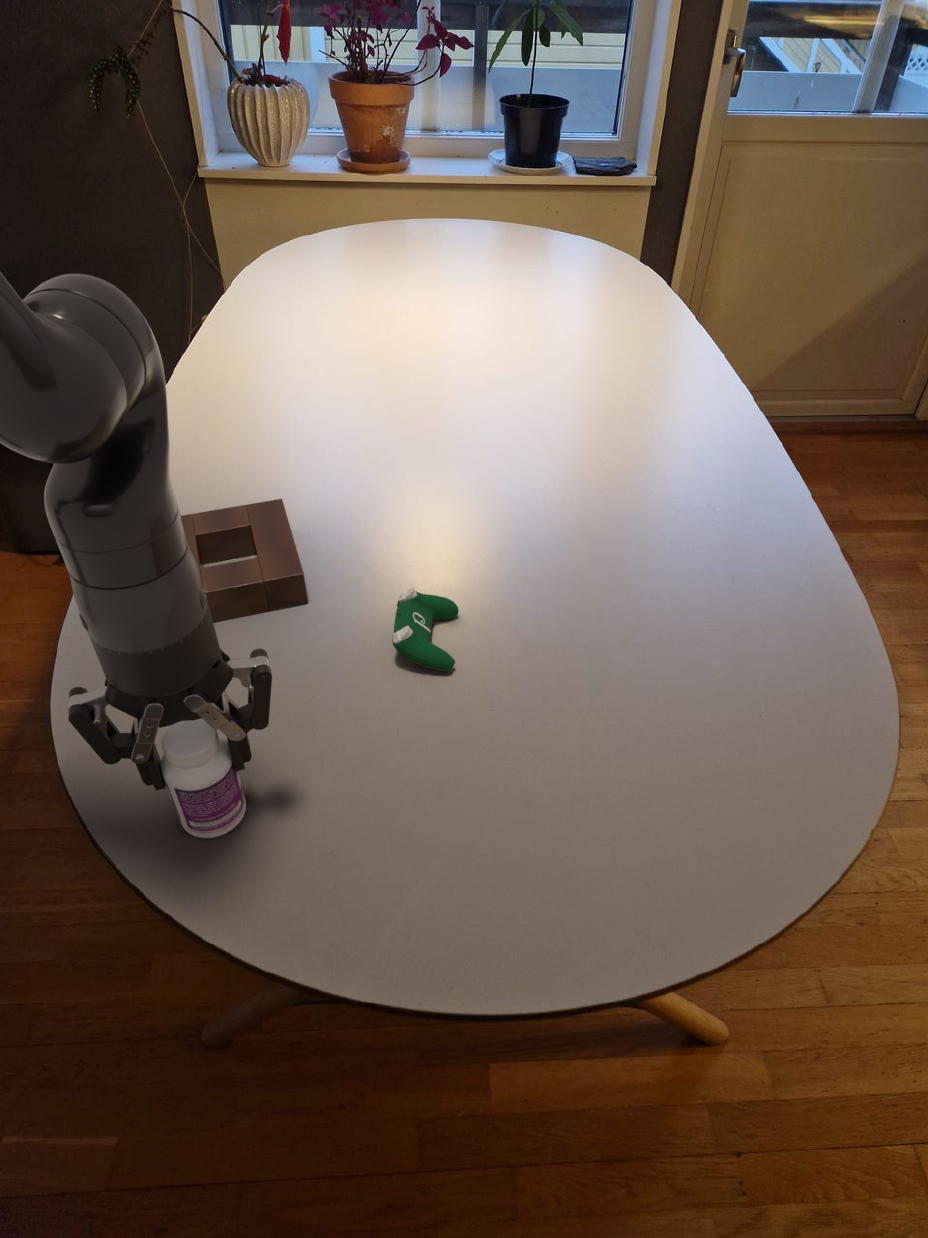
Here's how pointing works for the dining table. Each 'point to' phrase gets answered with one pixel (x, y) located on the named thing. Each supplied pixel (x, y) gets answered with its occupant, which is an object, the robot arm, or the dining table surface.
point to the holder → (248, 581)
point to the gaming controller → (422, 628)
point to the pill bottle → (202, 779)
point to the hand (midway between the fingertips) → (199, 770)
